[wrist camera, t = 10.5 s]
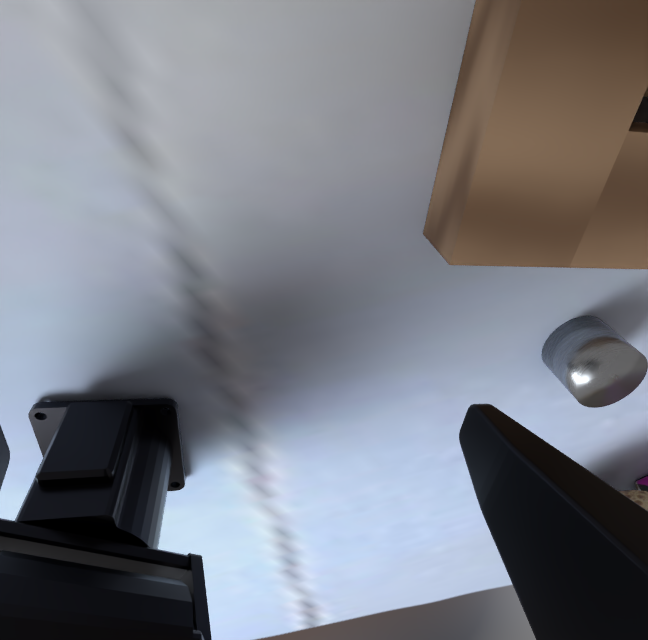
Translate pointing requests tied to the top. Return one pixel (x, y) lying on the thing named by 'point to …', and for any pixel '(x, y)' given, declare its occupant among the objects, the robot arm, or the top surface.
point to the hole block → (547, 139)
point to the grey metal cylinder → (593, 361)
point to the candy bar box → (642, 484)
